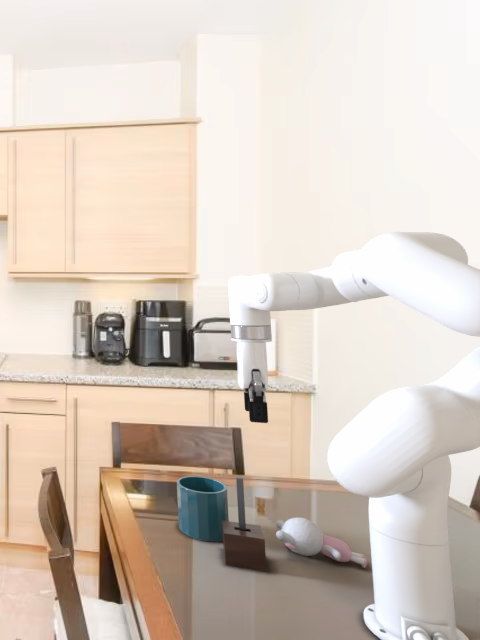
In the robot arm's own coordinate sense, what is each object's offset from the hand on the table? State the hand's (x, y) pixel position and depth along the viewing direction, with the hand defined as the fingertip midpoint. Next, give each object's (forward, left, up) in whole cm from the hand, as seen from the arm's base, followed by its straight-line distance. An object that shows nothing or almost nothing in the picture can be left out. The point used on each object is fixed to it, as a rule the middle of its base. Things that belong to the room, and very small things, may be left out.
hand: (256, 416), depth 106 cm
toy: (+2, -10, -27) cm, 29 cm away
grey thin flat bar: (-5, +4, -27) cm, 28 cm away
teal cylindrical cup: (+6, +11, -27) cm, 30 cm away
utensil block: (-5, +4, -27) cm, 28 cm away
